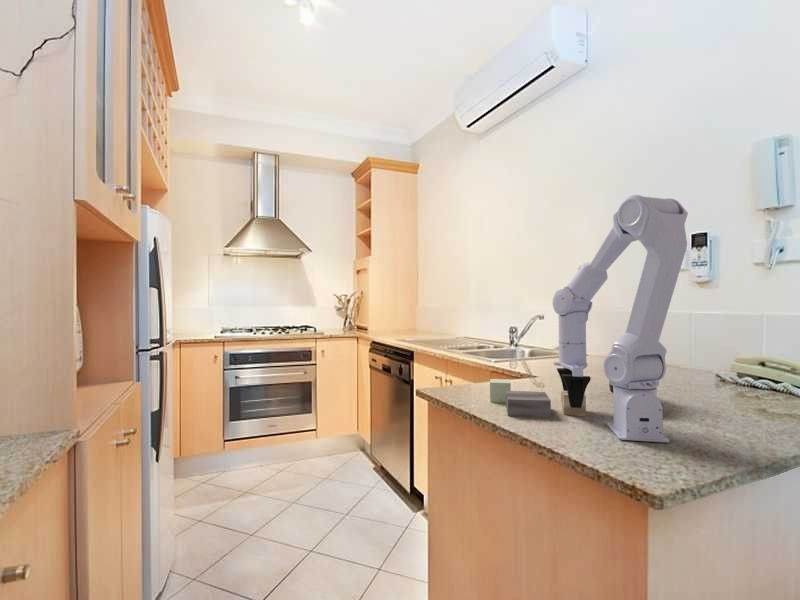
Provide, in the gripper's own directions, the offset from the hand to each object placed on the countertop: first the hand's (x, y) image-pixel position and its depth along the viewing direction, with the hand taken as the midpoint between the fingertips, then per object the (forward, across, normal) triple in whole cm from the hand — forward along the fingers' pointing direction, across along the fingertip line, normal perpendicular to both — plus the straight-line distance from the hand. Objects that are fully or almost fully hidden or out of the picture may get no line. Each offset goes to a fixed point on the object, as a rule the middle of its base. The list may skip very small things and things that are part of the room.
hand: (572, 403), depth 94 cm
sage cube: (+2, -9, -16) cm, 18 cm away
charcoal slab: (+2, +1, -10) cm, 10 cm away
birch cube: (+2, 0, 0) cm, 2 cm away
